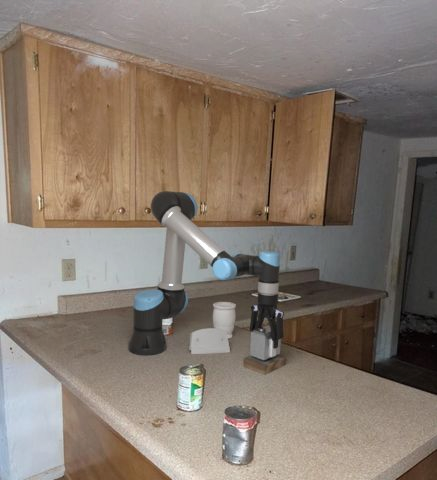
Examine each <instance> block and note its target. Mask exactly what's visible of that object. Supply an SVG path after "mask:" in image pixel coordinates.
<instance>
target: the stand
mask: <svg viewBox="0 0 437 480" xmlns="http://www.w3.org/2000/svg"><path fill="white" fill-rule="evenodd" d="M286 358H287V357H286V356H284V355H280V354H278V355H276V356H273V357H271V358H268V359H266V360H262V359H259V358H256V357H254V356H251V355H250V354H249V355H248V356H246V357H244V358H243V364H242V367H244V368H247V369H250V370H252V371H254V370H255V372H257V373H259V374H261V375H263V376H264V375H267V374H270V373H271V372H273V371H275V370H277V369H280V368H281V367H283V366H286V361H287V360H286Z"/></svg>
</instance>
